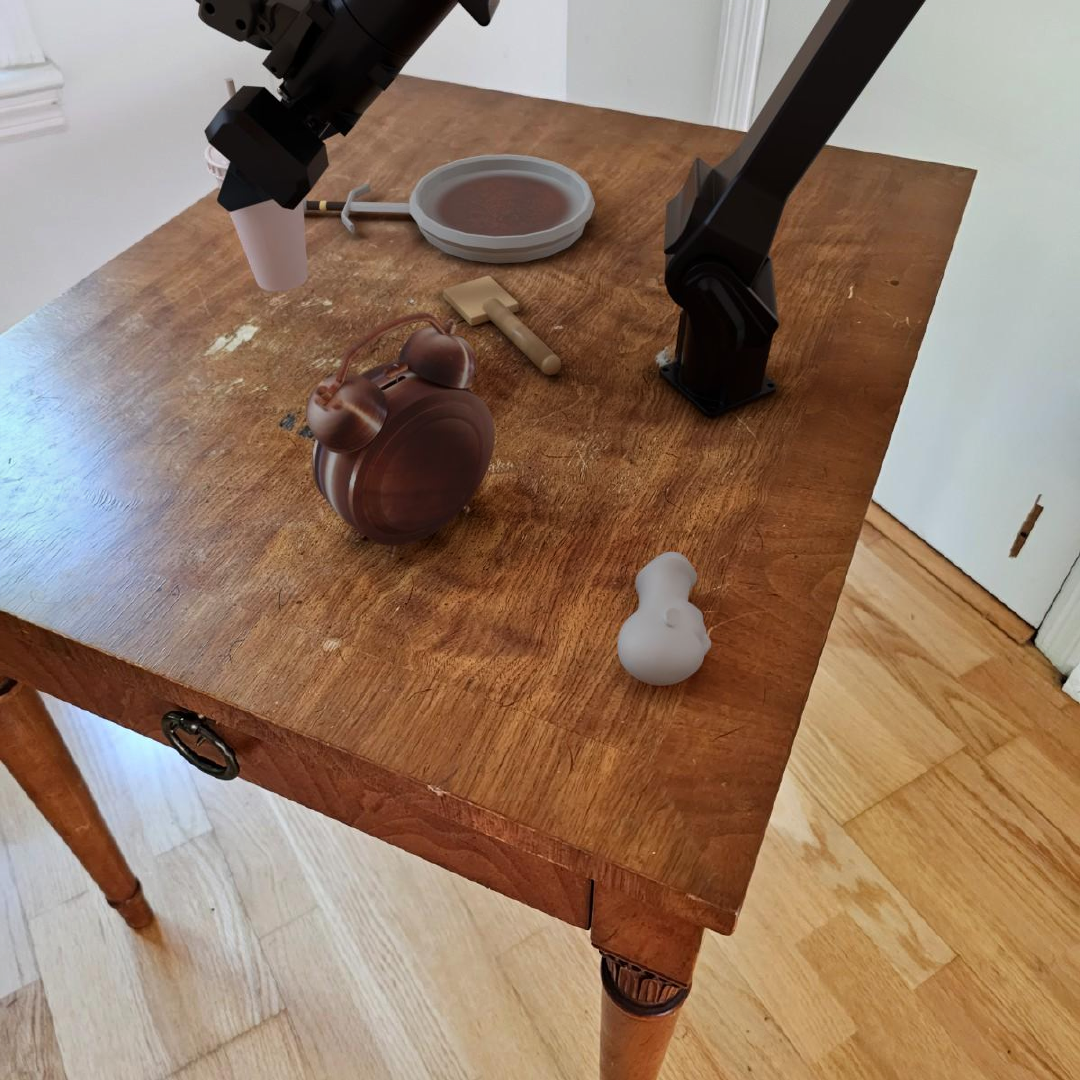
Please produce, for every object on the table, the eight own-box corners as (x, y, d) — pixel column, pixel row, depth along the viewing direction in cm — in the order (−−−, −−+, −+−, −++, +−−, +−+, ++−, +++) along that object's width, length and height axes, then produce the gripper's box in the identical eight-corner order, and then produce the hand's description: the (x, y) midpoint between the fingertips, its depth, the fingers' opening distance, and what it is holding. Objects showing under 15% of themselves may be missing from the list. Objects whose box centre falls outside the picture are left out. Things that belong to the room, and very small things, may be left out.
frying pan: (309, 149, 94) (596, 151, 92) (315, 178, 96) (595, 180, 94) (266, 236, 82) (594, 239, 81) (274, 267, 84) (593, 270, 83)
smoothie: (241, 259, 72) (191, 63, 62) (327, 252, 73) (291, 57, 62) (234, 305, 68) (178, 102, 57) (325, 298, 68) (287, 95, 58)
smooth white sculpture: (682, 717, 53) (597, 680, 52) (706, 607, 58) (629, 573, 58) (716, 680, 49) (626, 640, 49) (738, 567, 55) (657, 531, 54)
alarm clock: (456, 469, 65) (441, 270, 54) (503, 505, 62) (497, 305, 52) (320, 547, 60) (274, 345, 49) (366, 590, 57) (327, 387, 46)
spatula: (580, 369, 73) (581, 352, 72) (530, 387, 71) (530, 370, 70) (489, 283, 81) (488, 266, 80) (443, 297, 80) (441, 280, 79)
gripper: (319, -142, 59) (197, 41, 68) (194, -56, 46) (65, 154, 55) (453, 4, 64) (322, 157, 73) (373, 119, 51) (227, 286, 60)
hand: (242, 183), depth 65 cm, fingers closed on smoothie, 6 cm apart
